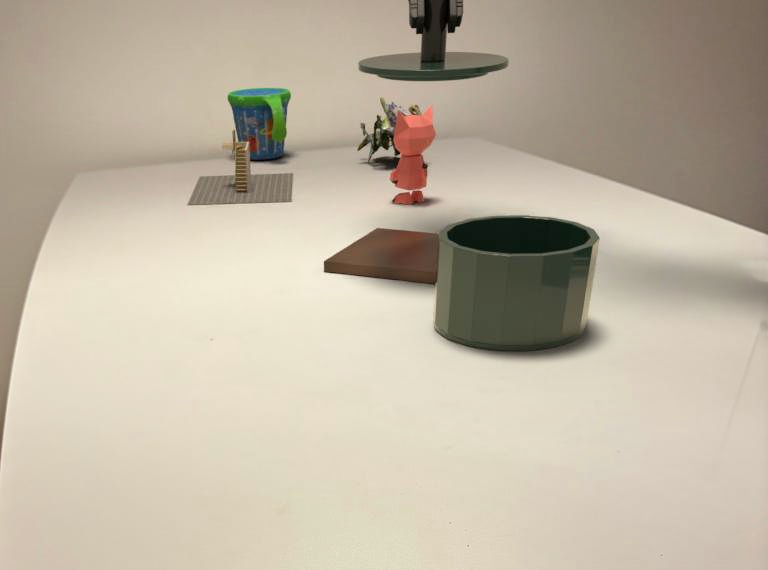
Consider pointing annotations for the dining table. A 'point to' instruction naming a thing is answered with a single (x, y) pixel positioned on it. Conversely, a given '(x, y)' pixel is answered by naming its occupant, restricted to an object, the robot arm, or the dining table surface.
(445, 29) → the lid
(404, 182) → the cat figurine
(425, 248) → the board
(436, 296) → the pot
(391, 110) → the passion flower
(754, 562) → the dining table surface
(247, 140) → the snack cup
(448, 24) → the robot arm
